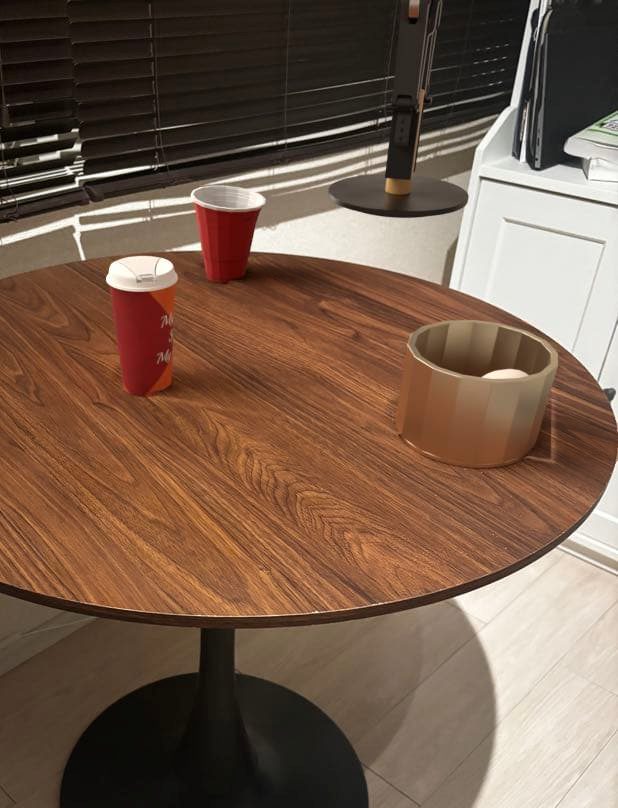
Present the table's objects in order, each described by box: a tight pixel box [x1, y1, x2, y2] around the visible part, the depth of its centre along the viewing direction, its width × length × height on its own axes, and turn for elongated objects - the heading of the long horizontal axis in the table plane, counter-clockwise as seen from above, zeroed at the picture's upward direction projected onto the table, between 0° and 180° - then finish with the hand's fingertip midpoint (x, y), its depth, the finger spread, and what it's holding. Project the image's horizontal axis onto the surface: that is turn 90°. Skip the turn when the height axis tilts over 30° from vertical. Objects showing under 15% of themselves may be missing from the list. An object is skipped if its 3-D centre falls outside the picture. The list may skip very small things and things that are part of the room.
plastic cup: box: [190, 185, 267, 284], centre depth 119 cm, size 11×11×12 cm
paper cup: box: [105, 255, 179, 398], centre depth 90 cm, size 8×8×14 cm
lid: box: [327, 89, 470, 219], centre depth 87 cm, size 15×15×11 cm
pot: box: [394, 319, 559, 469], centre depth 83 cm, size 14×14×10 cm
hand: (400, 173), depth 89 cm, fingers closed on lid, 3 cm apart
